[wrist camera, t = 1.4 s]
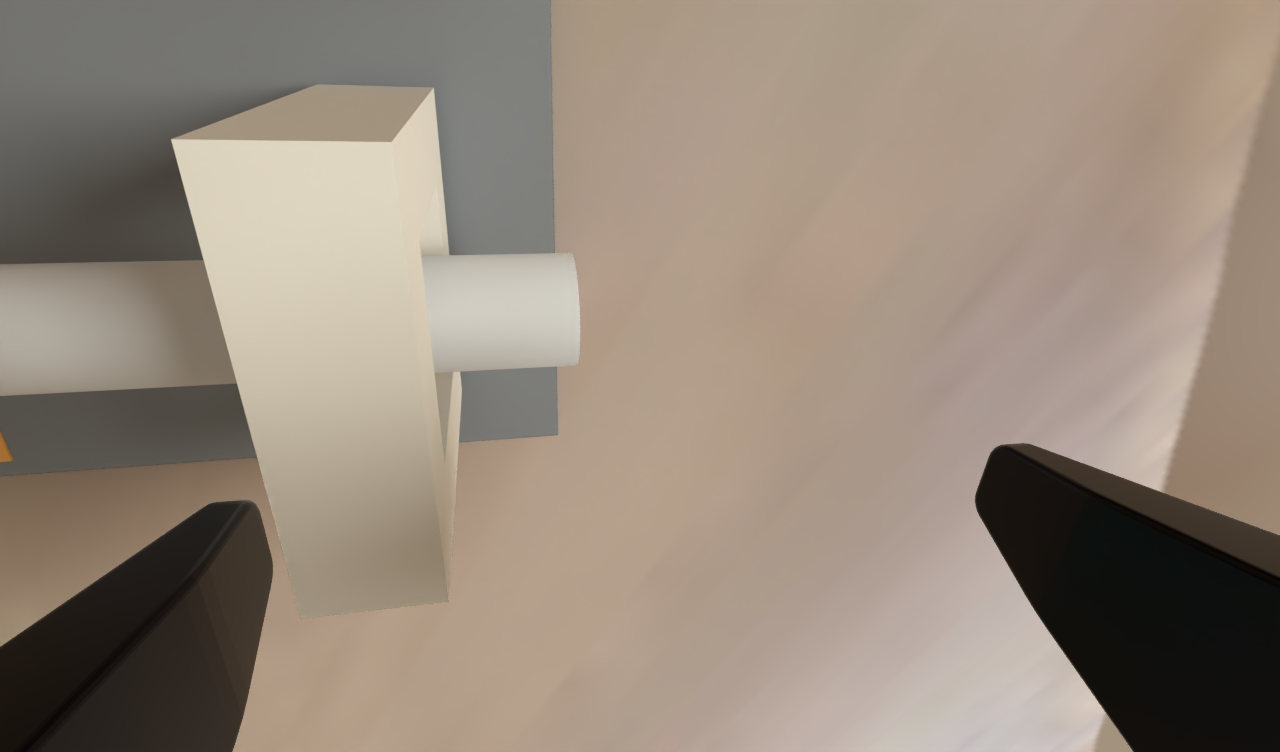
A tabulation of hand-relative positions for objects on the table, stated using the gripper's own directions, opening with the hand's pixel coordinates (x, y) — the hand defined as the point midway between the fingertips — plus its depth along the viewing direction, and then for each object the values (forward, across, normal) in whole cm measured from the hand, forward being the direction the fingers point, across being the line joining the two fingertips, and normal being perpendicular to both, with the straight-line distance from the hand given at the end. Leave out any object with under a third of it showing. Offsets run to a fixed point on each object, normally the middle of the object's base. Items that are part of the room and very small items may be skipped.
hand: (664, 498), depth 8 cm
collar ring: (+12, +4, 0) cm, 13 cm away
